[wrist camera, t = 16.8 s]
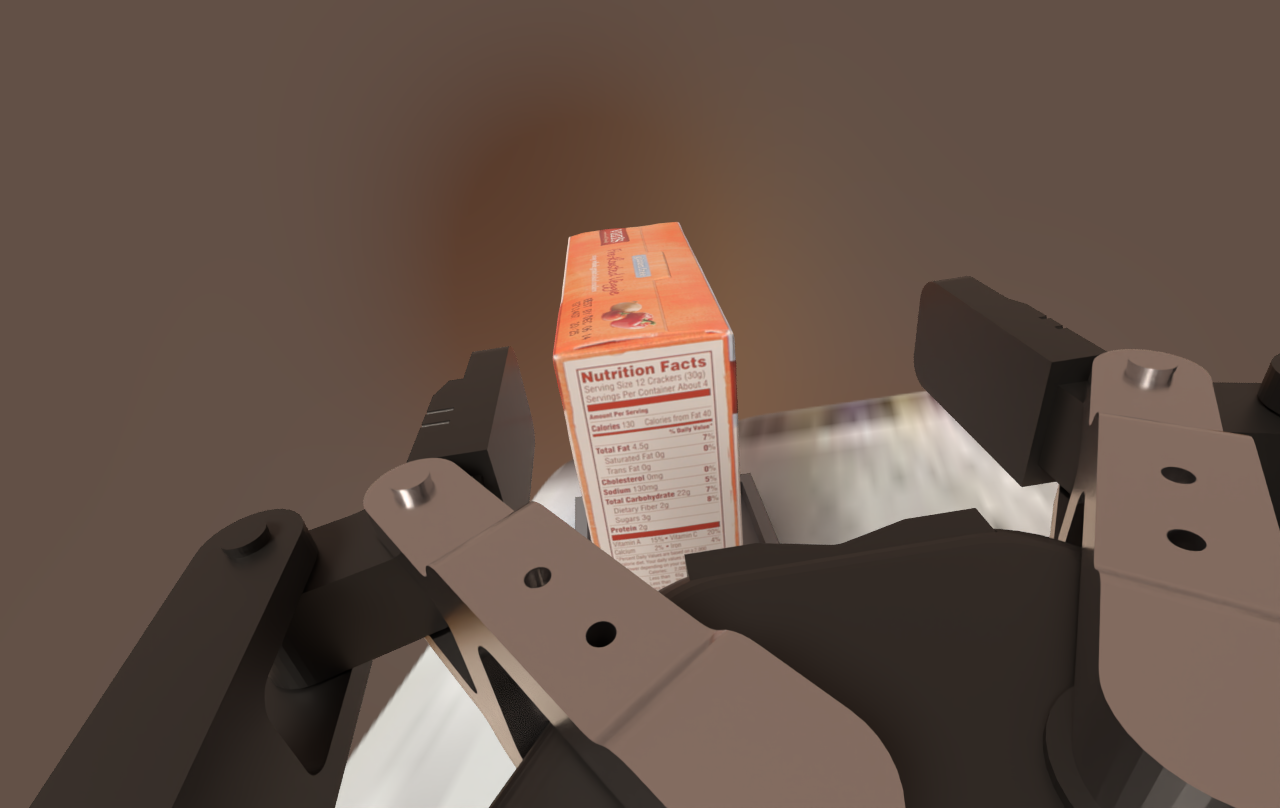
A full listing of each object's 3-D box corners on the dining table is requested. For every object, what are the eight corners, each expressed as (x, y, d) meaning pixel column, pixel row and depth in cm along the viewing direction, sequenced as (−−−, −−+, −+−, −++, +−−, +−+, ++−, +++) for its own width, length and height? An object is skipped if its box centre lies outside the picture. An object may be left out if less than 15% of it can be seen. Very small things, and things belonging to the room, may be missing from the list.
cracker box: (617, 549, 41) (564, 230, 31) (708, 538, 41) (685, 215, 31) (625, 760, 29) (541, 346, 18) (755, 744, 29) (744, 321, 18)
